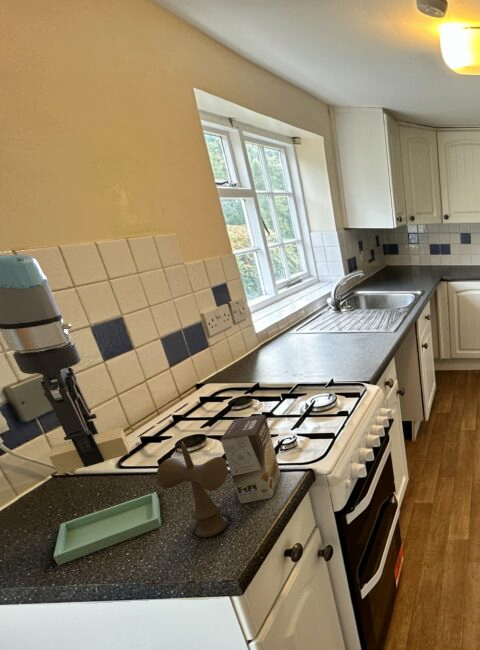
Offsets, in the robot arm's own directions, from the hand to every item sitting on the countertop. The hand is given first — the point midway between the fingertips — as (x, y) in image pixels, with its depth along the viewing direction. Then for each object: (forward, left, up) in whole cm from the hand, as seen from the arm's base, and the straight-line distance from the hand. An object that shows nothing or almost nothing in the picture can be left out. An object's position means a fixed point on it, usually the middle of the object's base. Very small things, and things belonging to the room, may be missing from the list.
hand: (95, 457), depth 81 cm
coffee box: (+12, +24, -13) cm, 30 cm away
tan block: (0, 0, 0) cm, 0 cm away
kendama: (+20, +14, -13) cm, 28 cm away
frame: (+7, -1, -13) cm, 15 cm away
